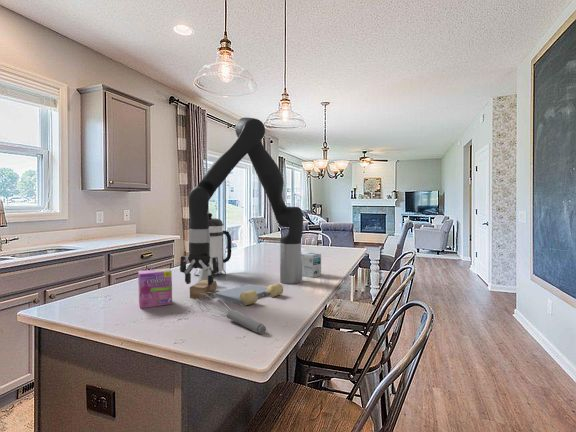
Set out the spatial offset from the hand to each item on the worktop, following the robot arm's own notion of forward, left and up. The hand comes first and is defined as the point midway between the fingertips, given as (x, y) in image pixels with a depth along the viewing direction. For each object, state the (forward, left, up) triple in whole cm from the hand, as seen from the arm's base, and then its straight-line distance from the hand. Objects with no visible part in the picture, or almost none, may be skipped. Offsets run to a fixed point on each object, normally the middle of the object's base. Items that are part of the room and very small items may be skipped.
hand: (199, 284), depth 127 cm
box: (+15, -4, -5) cm, 17 cm away
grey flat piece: (-13, +14, -5) cm, 19 cm away
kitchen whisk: (+8, +28, -5) cm, 30 cm away
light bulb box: (-57, +8, -5) cm, 57 cm away
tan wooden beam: (-4, -2, -5) cm, 6 cm away
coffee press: (-27, -28, -5) cm, 39 cm away
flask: (-13, -14, -5) cm, 19 cm away
